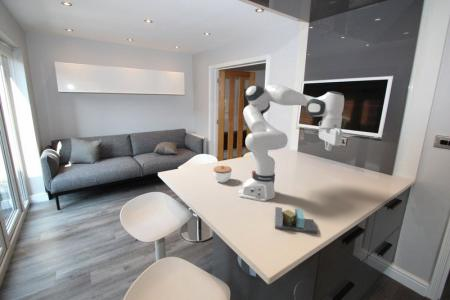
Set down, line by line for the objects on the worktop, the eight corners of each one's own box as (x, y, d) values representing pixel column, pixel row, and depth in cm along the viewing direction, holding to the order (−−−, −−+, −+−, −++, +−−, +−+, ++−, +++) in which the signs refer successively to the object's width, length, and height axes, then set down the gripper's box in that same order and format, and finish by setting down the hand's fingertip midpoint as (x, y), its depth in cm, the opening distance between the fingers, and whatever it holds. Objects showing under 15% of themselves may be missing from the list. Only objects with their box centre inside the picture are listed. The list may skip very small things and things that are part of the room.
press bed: (275, 228, 99) (276, 216, 98) (274, 217, 108) (275, 207, 106) (316, 233, 96) (318, 221, 95) (312, 222, 105) (314, 211, 103)
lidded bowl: (229, 185, 147) (229, 169, 144) (211, 183, 149) (211, 168, 146) (232, 178, 158) (233, 163, 156) (215, 176, 161) (215, 162, 158)
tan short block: (281, 220, 103) (282, 211, 102) (287, 218, 105) (288, 209, 104) (290, 225, 99) (290, 217, 98) (296, 223, 101) (297, 214, 100)
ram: (296, 227, 97) (297, 218, 96) (294, 217, 105) (295, 208, 104) (303, 228, 97) (304, 219, 96) (301, 217, 105) (301, 209, 104)
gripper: (348, 127, 101) (343, 155, 105) (329, 122, 121) (326, 146, 125) (334, 127, 102) (330, 155, 105) (317, 121, 121) (314, 145, 125)
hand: (327, 150), depth 115 cm, fingers closed
